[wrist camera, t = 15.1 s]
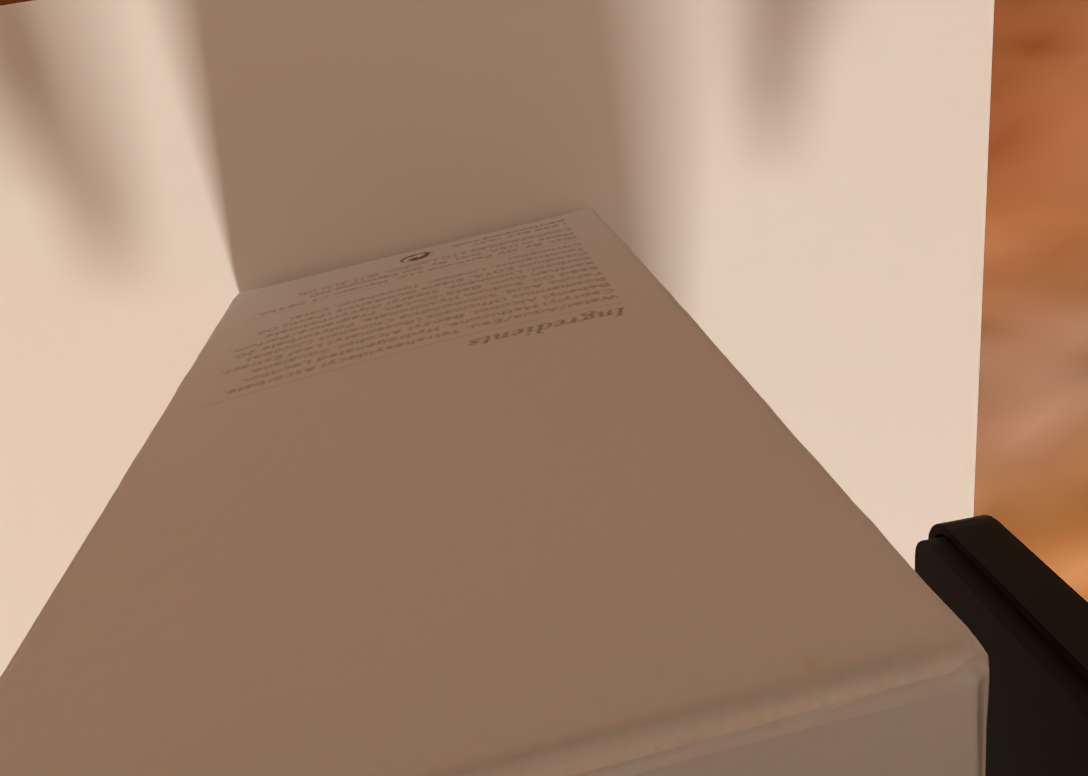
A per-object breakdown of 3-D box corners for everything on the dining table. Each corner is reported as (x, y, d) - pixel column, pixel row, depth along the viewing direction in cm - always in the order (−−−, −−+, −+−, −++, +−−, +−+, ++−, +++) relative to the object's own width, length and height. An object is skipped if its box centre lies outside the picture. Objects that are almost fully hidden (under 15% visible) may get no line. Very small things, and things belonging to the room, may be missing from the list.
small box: (232, 284, 14) (-256, 958, 4) (599, 197, 14) (1022, 630, 4) (382, 700, 17) (324, 1650, 7) (680, 624, 17) (1027, 1447, 7)
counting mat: (968, -141, 13) (1000, -150, 13) (943, 711, 19) (964, 738, 19) (-311, 59, 12) (-358, 61, 12) (90, 889, 19) (76, 926, 18)
